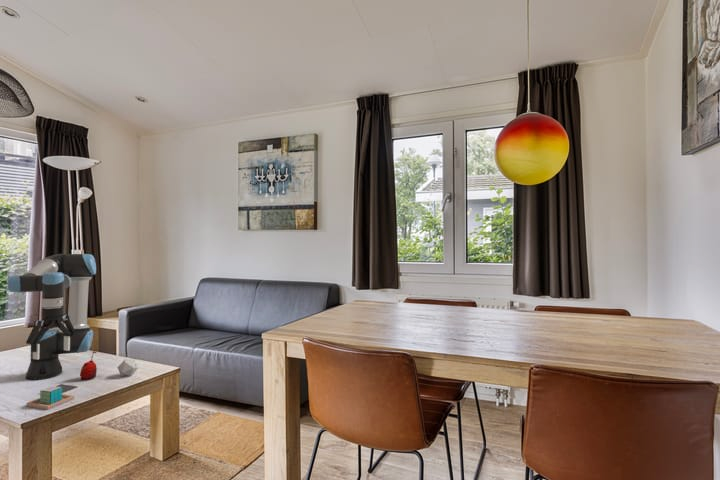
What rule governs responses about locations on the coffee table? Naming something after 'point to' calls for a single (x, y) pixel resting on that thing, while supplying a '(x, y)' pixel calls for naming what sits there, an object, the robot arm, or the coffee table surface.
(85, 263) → the robot arm
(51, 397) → the puzzle toy
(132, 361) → the die
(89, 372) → the red clay folk toy
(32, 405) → the square tray
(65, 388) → the ink pad
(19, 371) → the coffee table surface
